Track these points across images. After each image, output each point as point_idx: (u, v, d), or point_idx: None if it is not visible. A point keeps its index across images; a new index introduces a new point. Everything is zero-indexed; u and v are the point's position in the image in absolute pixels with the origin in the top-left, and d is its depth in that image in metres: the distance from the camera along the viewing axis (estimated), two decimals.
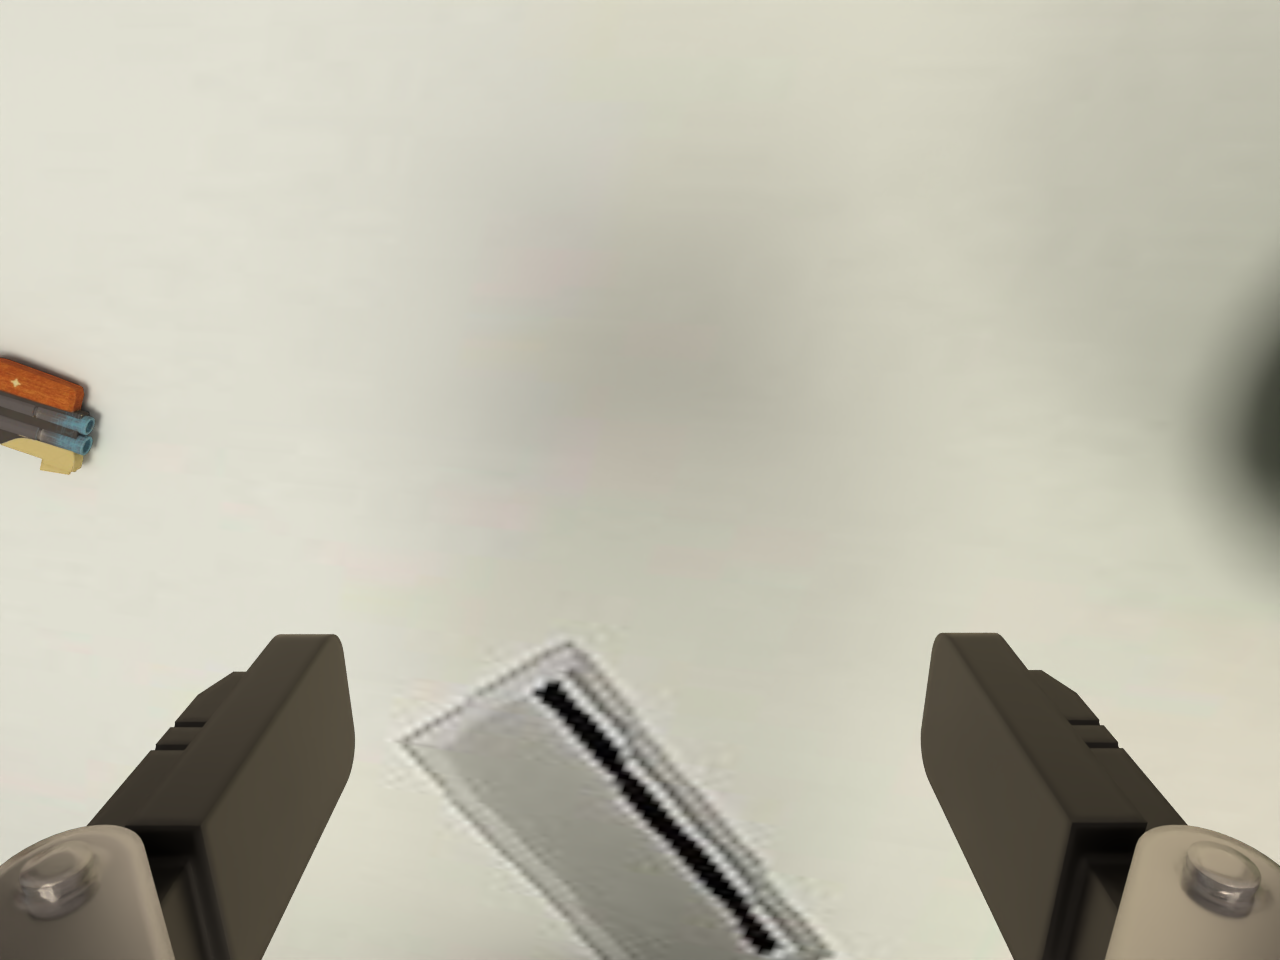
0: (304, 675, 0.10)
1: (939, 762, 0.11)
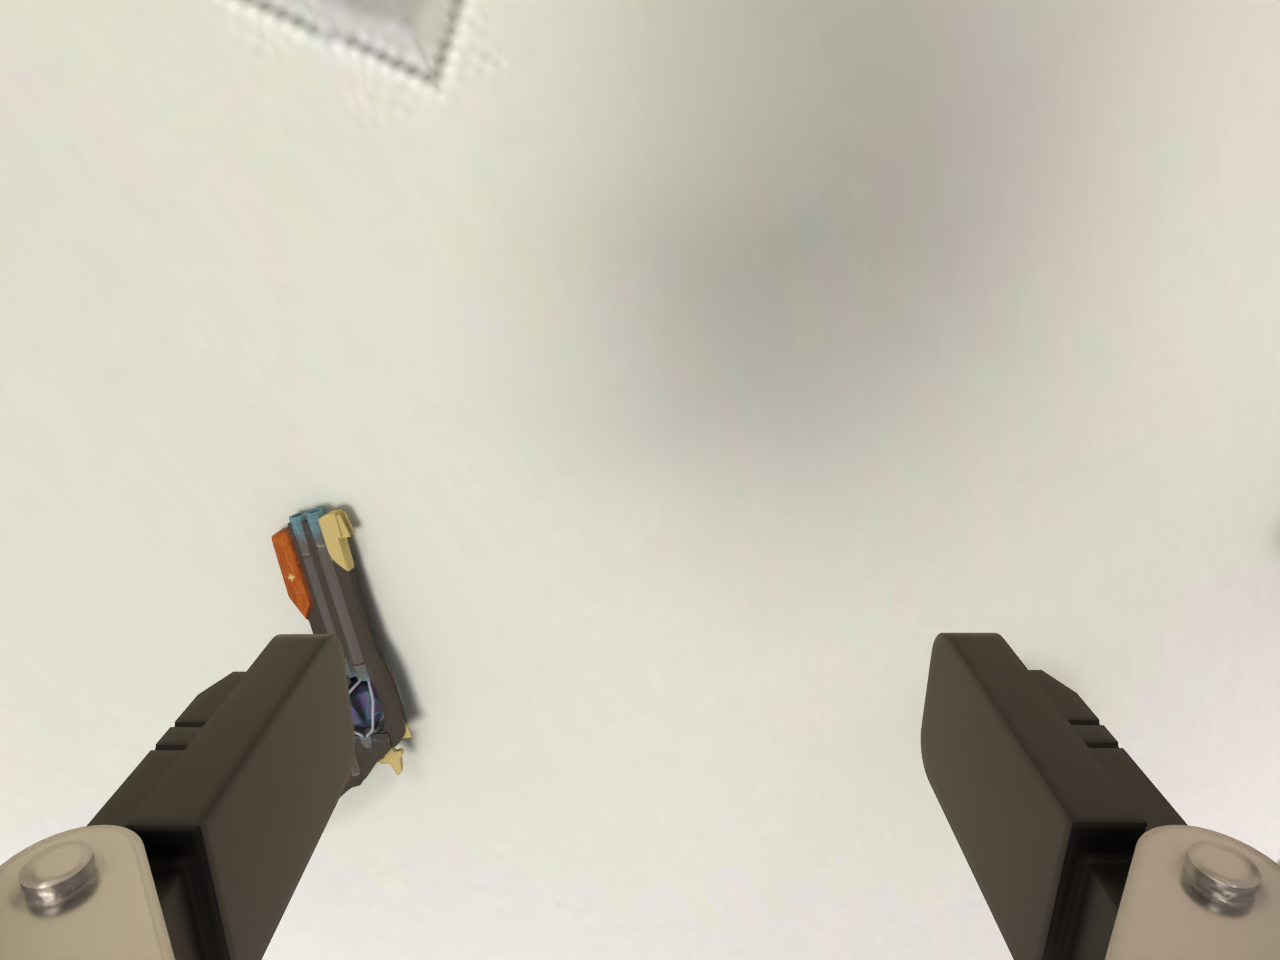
0: (304, 675, 0.10)
1: (939, 762, 0.11)
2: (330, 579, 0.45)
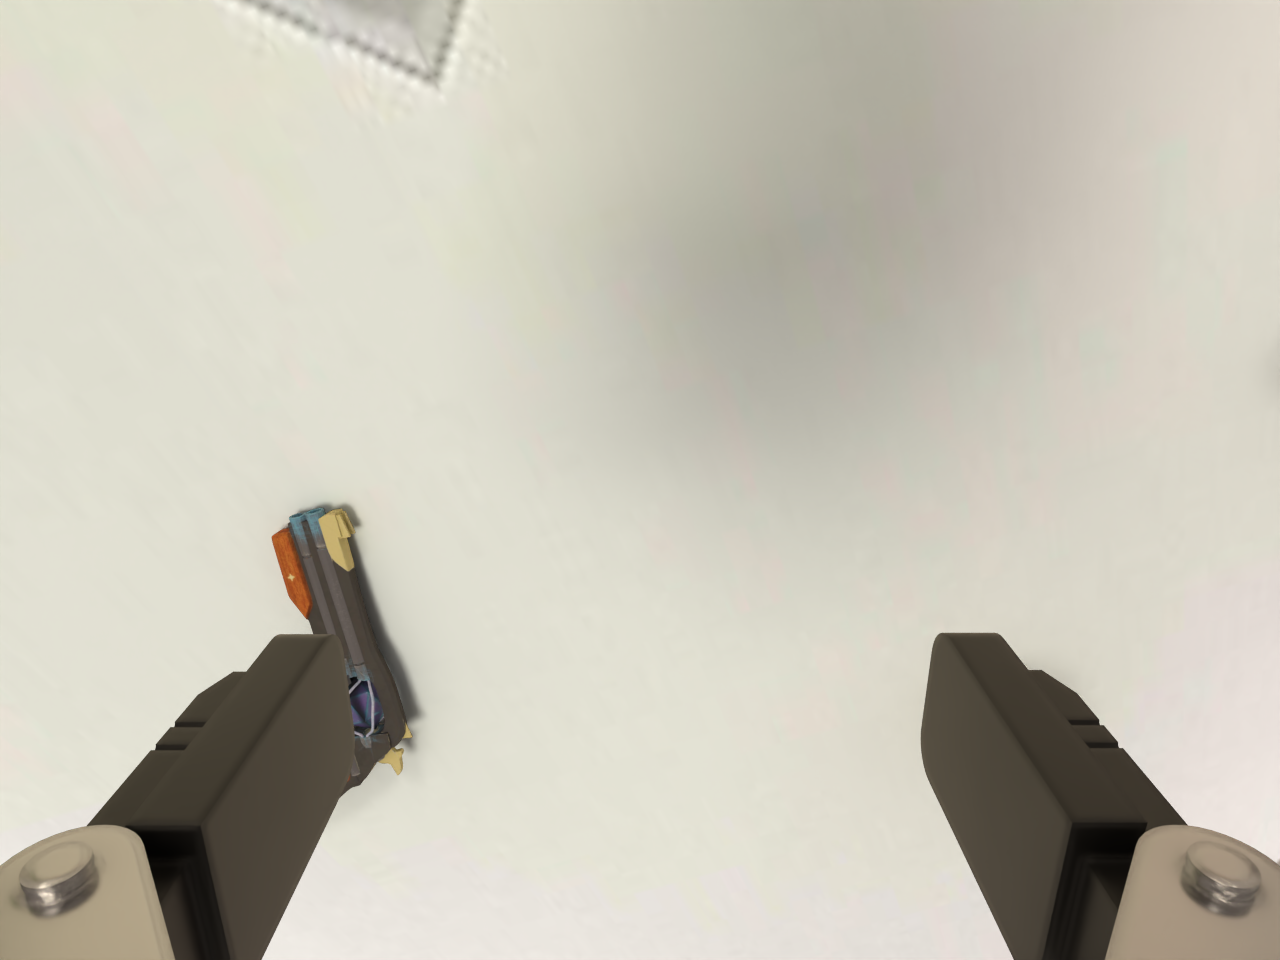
0: (304, 675, 0.10)
1: (939, 762, 0.11)
2: (330, 579, 0.45)
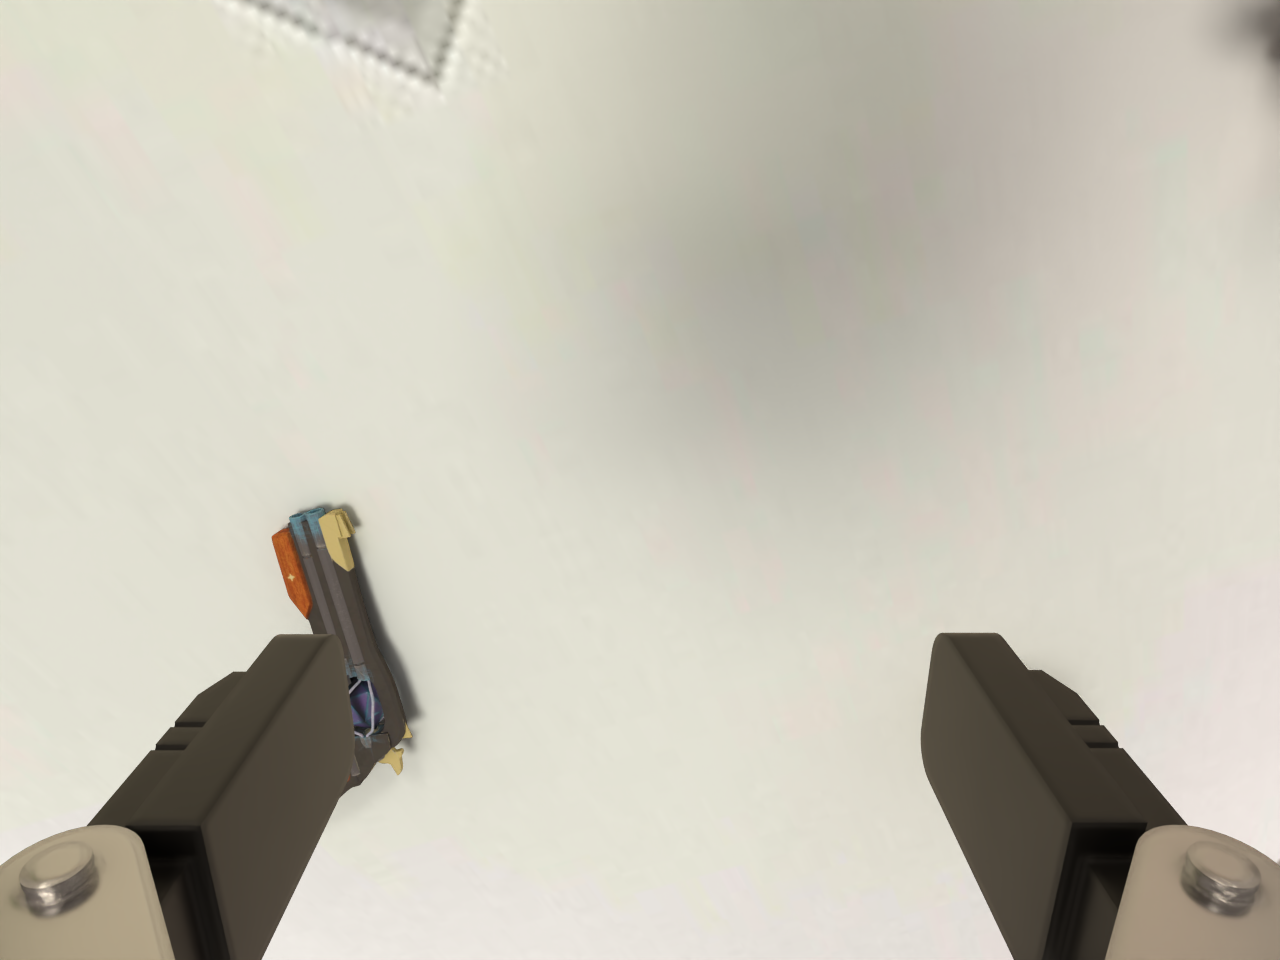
0: (304, 675, 0.10)
1: (939, 762, 0.11)
2: (330, 579, 0.45)
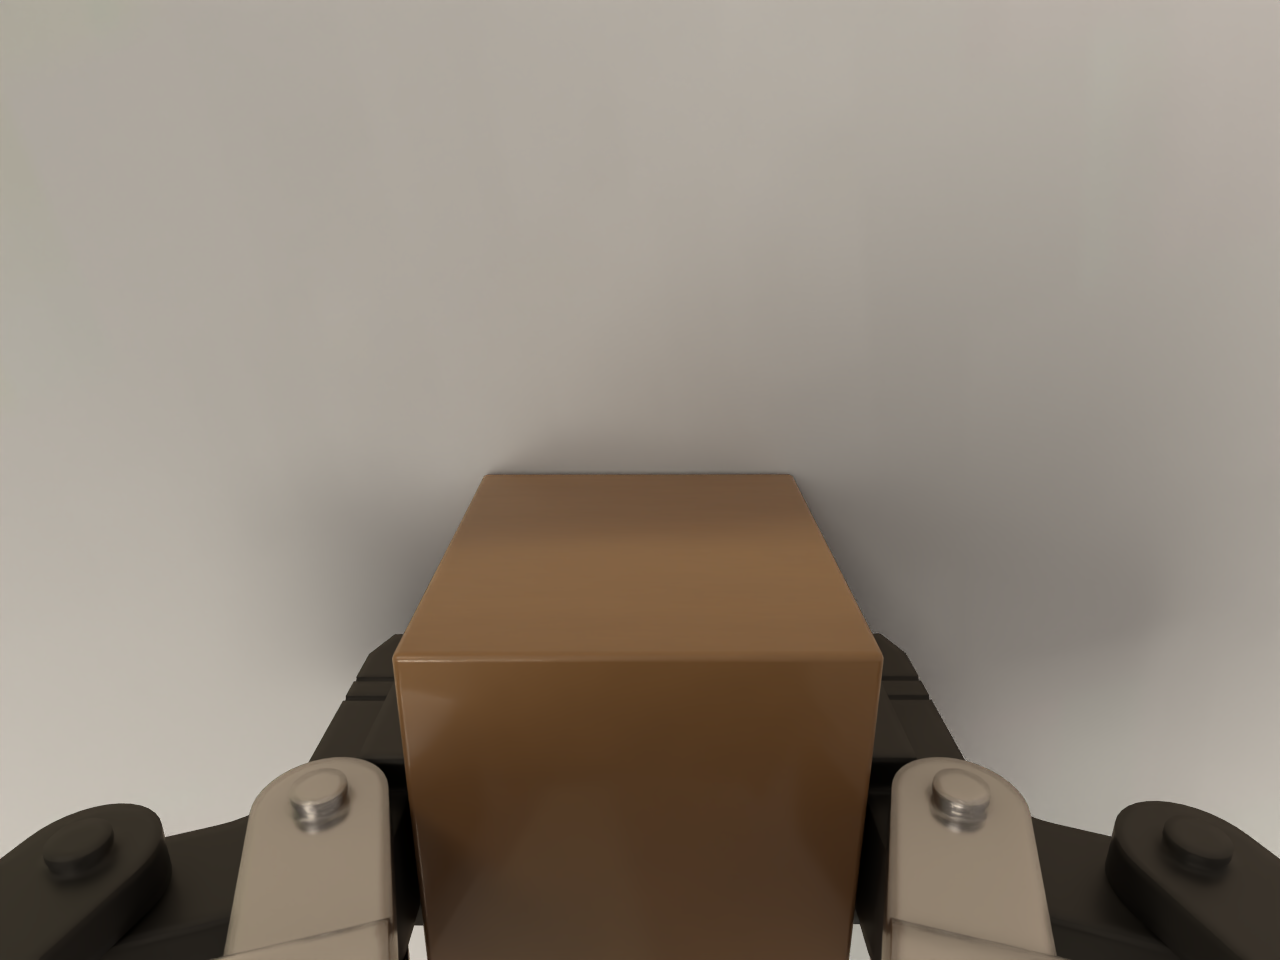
0: None
1: None
2: None
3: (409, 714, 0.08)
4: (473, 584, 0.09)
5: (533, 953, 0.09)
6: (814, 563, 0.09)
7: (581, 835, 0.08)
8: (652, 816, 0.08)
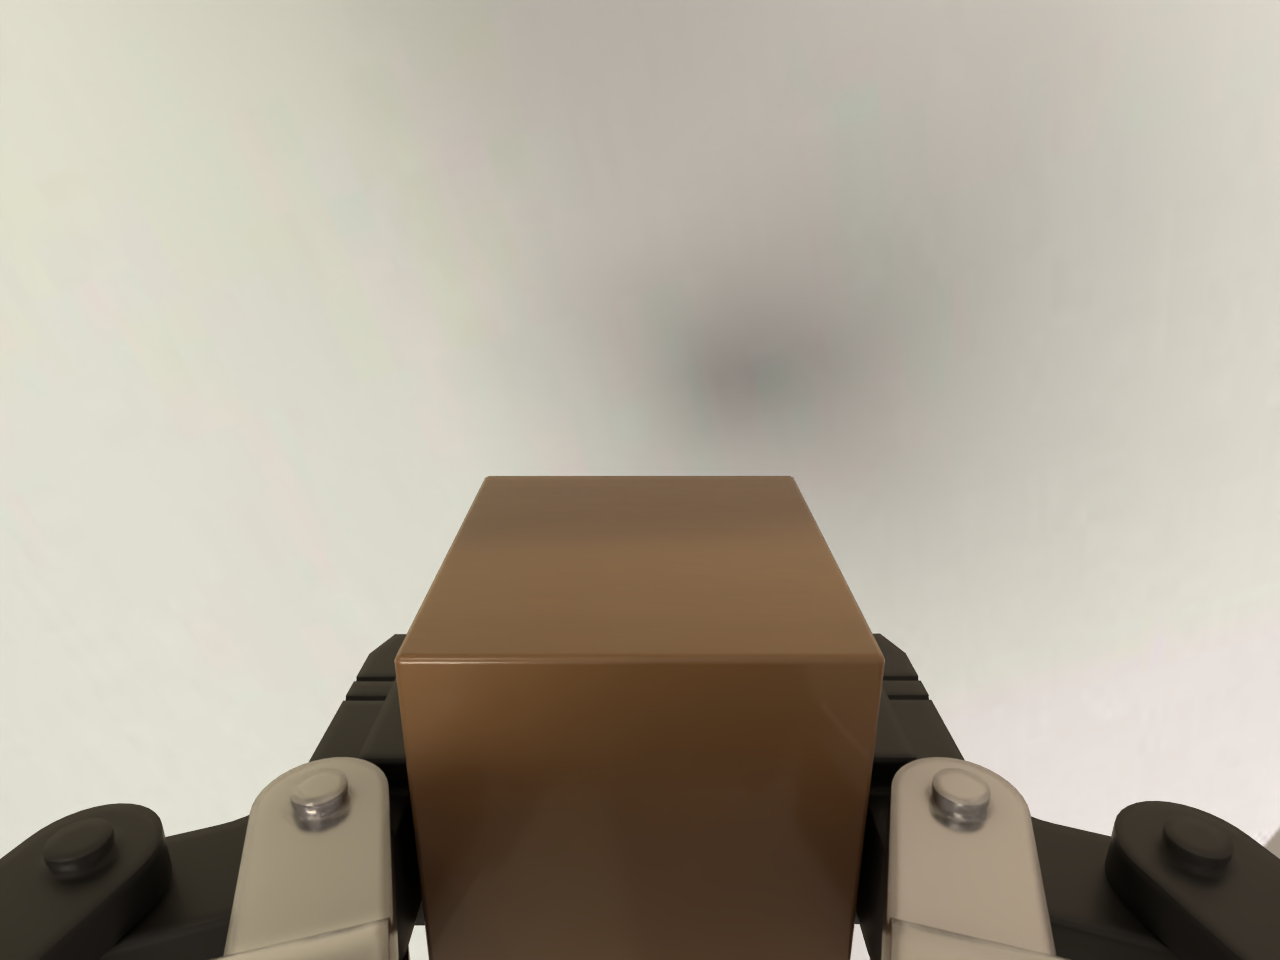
0: None
1: None
2: None
3: (411, 716, 0.08)
4: (474, 586, 0.09)
5: (535, 954, 0.09)
6: (815, 565, 0.09)
7: (583, 837, 0.08)
8: (653, 818, 0.08)
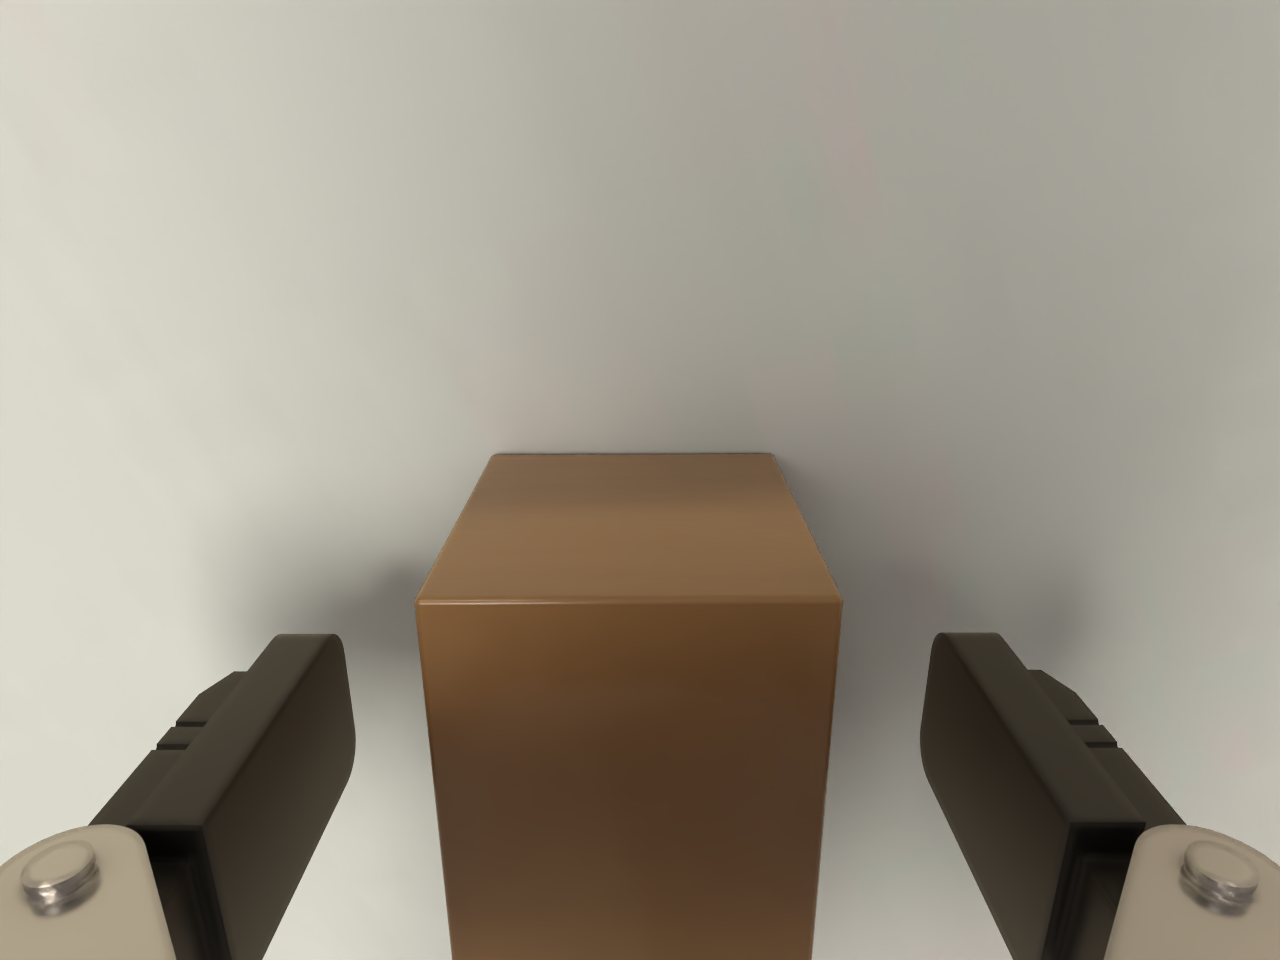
0: (305, 675, 0.10)
1: (938, 762, 0.11)
2: None
3: (429, 651, 0.09)
4: (483, 543, 0.10)
5: (537, 871, 0.10)
6: (787, 526, 0.10)
7: (580, 762, 0.09)
8: (642, 744, 0.09)
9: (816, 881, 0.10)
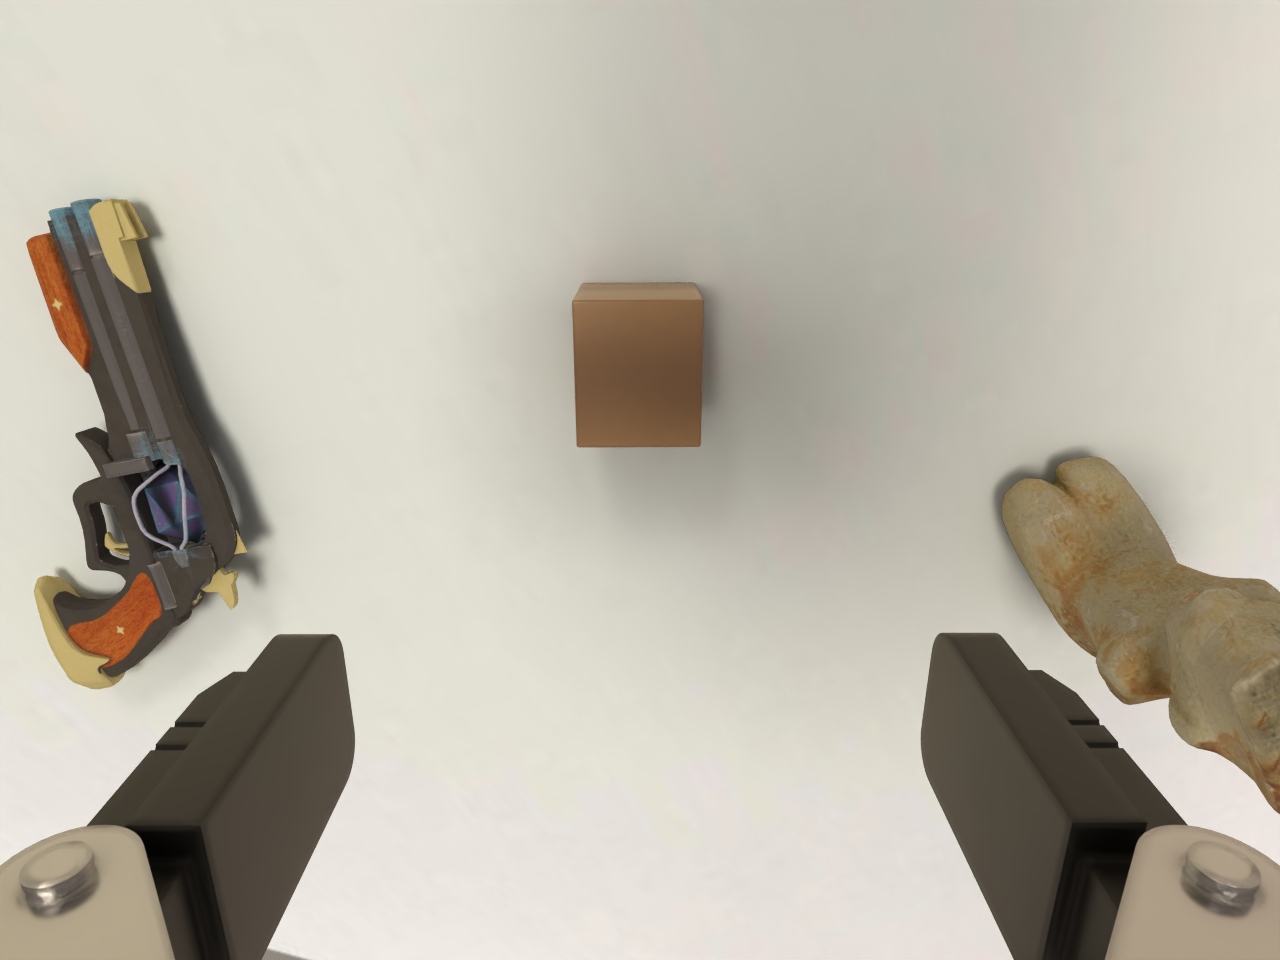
0: (304, 675, 0.10)
1: (939, 762, 0.11)
2: (113, 305, 0.31)
3: (576, 318, 0.28)
4: (588, 294, 0.29)
5: (607, 402, 0.29)
6: (692, 292, 0.29)
7: (622, 359, 0.28)
8: (642, 352, 0.28)
9: (700, 407, 0.29)
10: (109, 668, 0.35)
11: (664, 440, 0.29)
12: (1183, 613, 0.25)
